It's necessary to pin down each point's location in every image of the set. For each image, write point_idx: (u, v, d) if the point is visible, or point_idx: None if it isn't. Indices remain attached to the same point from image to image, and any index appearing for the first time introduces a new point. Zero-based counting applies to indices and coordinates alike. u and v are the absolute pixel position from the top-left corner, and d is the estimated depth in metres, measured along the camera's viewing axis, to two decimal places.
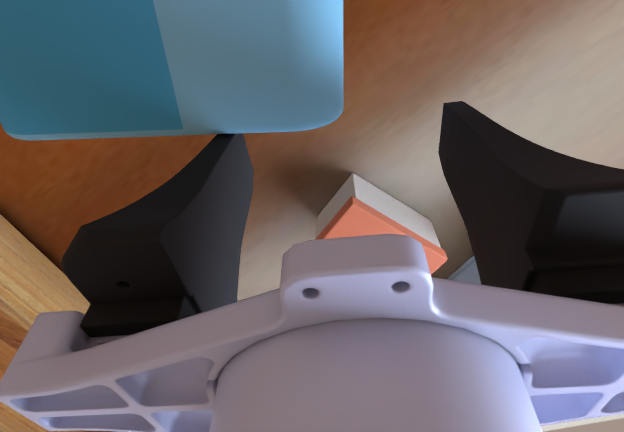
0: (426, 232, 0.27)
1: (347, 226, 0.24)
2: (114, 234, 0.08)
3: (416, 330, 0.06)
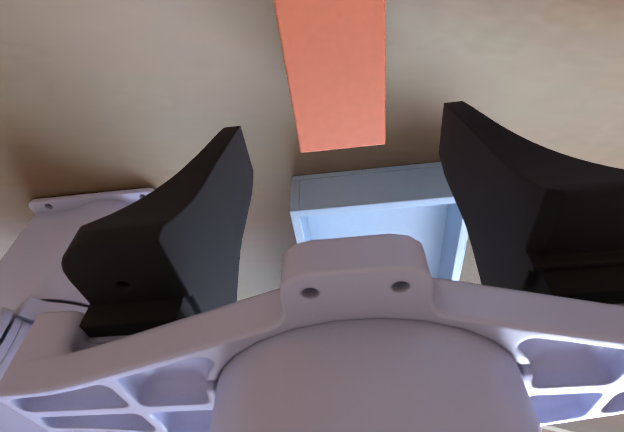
0: None
1: (347, 3, 0.16)
2: (114, 234, 0.08)
3: (416, 330, 0.06)
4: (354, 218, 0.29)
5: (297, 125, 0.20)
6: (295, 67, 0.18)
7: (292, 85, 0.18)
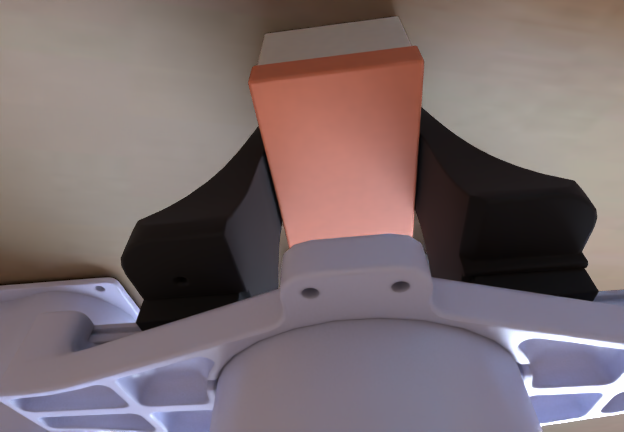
0: None
1: (363, 94, 0.10)
2: (177, 229, 0.08)
3: (416, 330, 0.06)
4: None
5: (289, 240, 0.14)
6: (285, 175, 0.12)
7: (281, 196, 0.13)
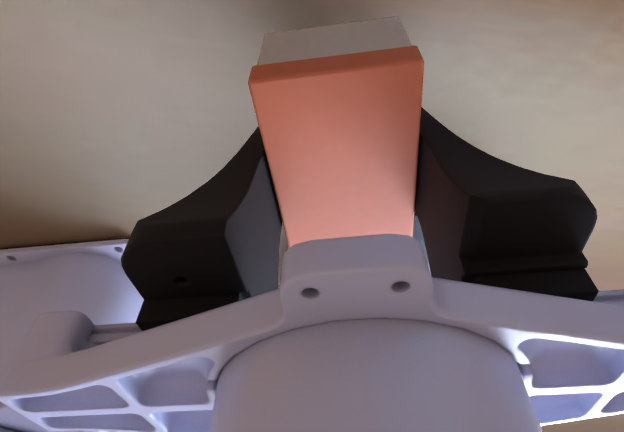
0: None
1: (363, 94, 0.10)
2: (177, 229, 0.08)
3: (416, 330, 0.06)
4: None
5: (289, 240, 0.14)
6: (285, 175, 0.12)
7: (281, 196, 0.13)
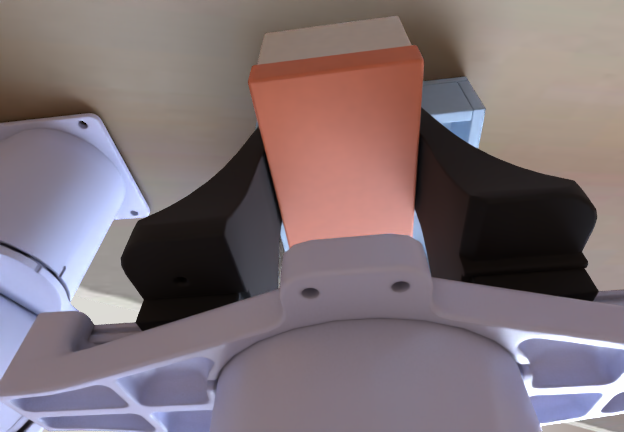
0: None
1: (363, 94, 0.10)
2: (177, 228, 0.08)
3: (416, 330, 0.06)
4: None
5: (289, 240, 0.14)
6: (285, 174, 0.12)
7: (281, 195, 0.13)
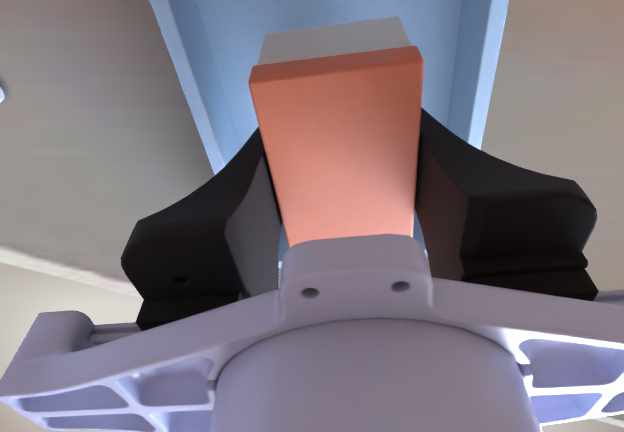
0: None
1: (363, 94, 0.10)
2: (177, 229, 0.08)
3: (416, 330, 0.06)
4: None
5: (289, 240, 0.14)
6: (285, 175, 0.12)
7: (281, 196, 0.13)
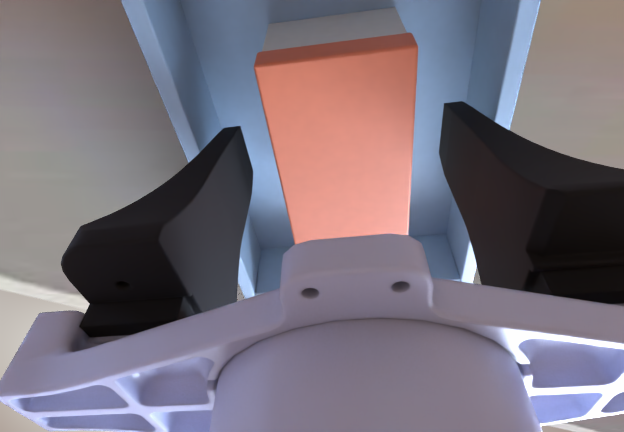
0: None
1: (361, 78, 0.11)
2: (114, 234, 0.08)
3: (416, 330, 0.06)
4: None
5: (291, 222, 0.15)
6: (288, 157, 0.13)
7: (284, 177, 0.13)
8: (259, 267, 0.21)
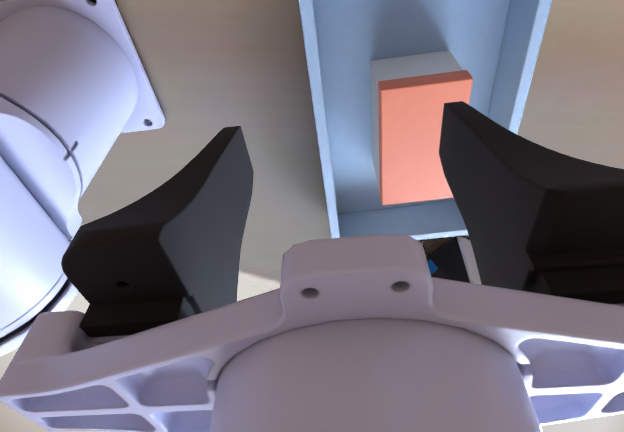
0: None
1: (440, 95, 0.20)
2: (114, 234, 0.08)
3: (416, 330, 0.06)
4: (380, 39, 0.22)
5: (383, 184, 0.23)
6: (389, 142, 0.21)
7: (384, 155, 0.22)
8: (339, 225, 0.30)
